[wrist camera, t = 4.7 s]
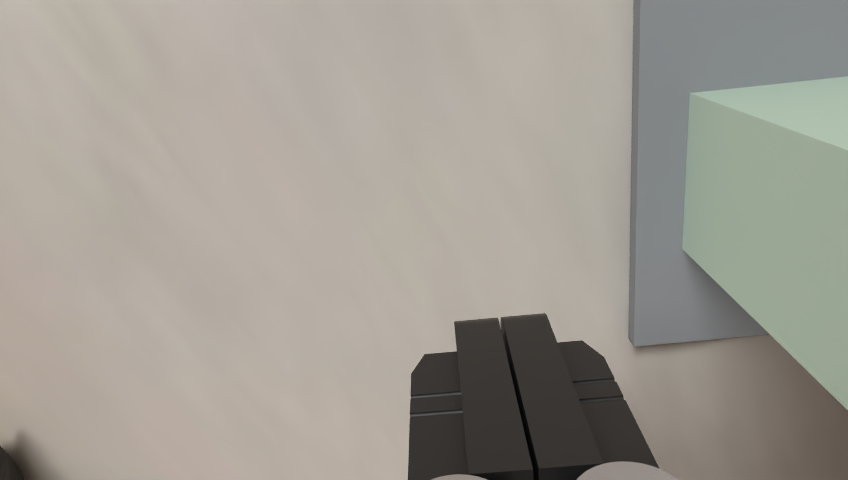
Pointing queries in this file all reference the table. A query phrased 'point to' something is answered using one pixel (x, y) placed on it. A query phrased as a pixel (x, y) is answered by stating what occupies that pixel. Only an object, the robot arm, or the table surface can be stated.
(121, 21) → the table surface
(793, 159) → the sage block
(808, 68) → the slate mat
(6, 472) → the figurine
